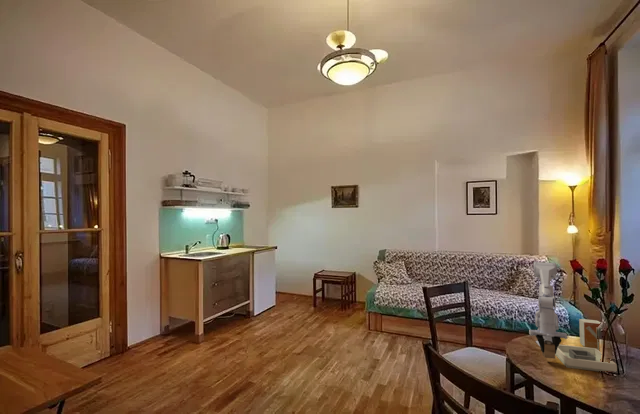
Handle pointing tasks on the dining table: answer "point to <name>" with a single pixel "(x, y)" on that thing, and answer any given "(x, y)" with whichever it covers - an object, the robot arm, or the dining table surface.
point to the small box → (588, 332)
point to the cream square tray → (583, 358)
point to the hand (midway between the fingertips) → (548, 352)
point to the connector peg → (549, 349)
